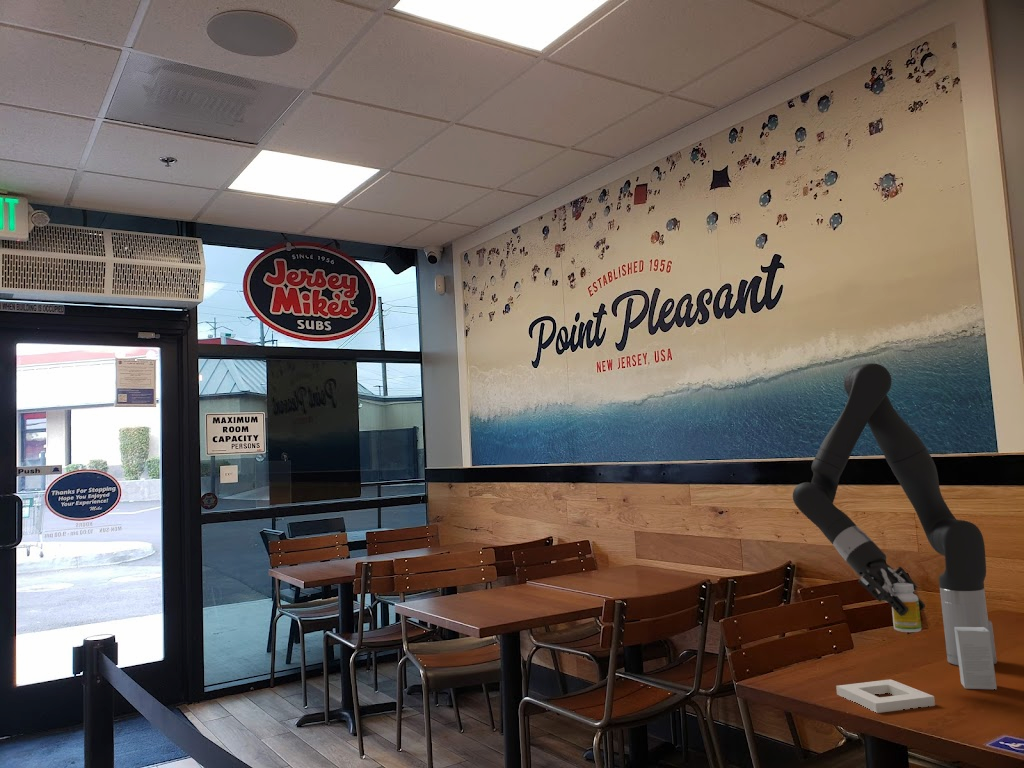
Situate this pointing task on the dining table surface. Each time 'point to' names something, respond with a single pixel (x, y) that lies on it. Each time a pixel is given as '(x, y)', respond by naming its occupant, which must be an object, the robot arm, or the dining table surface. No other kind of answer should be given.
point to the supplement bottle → (912, 617)
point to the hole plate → (901, 699)
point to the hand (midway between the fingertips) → (913, 611)
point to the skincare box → (975, 658)
